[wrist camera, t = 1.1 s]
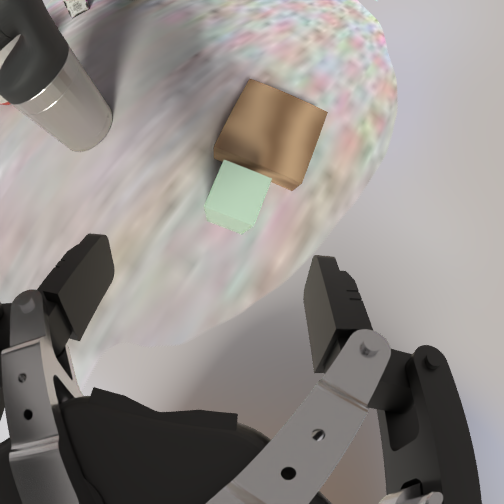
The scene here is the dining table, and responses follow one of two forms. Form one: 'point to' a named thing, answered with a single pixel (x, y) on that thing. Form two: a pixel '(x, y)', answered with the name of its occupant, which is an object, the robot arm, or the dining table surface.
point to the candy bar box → (76, 6)
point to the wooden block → (271, 134)
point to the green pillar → (236, 197)
